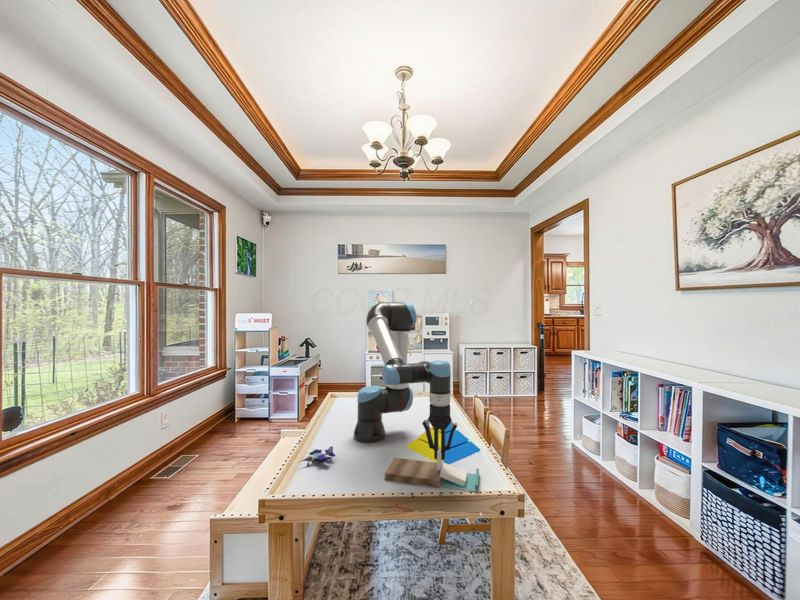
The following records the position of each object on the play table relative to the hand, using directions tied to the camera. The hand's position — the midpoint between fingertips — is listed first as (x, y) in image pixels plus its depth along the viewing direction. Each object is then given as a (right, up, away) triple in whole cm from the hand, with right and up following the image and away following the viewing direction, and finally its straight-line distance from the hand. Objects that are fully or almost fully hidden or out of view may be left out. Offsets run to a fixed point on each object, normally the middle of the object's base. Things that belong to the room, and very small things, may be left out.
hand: (439, 467), depth 127 cm
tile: (+5, -2, -2) cm, 5 cm away
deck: (-9, -4, +2) cm, 10 cm away
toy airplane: (-48, -4, +12) cm, 49 cm away
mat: (+7, -4, -2) cm, 8 cm away
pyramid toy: (+5, -5, +26) cm, 27 cm away
